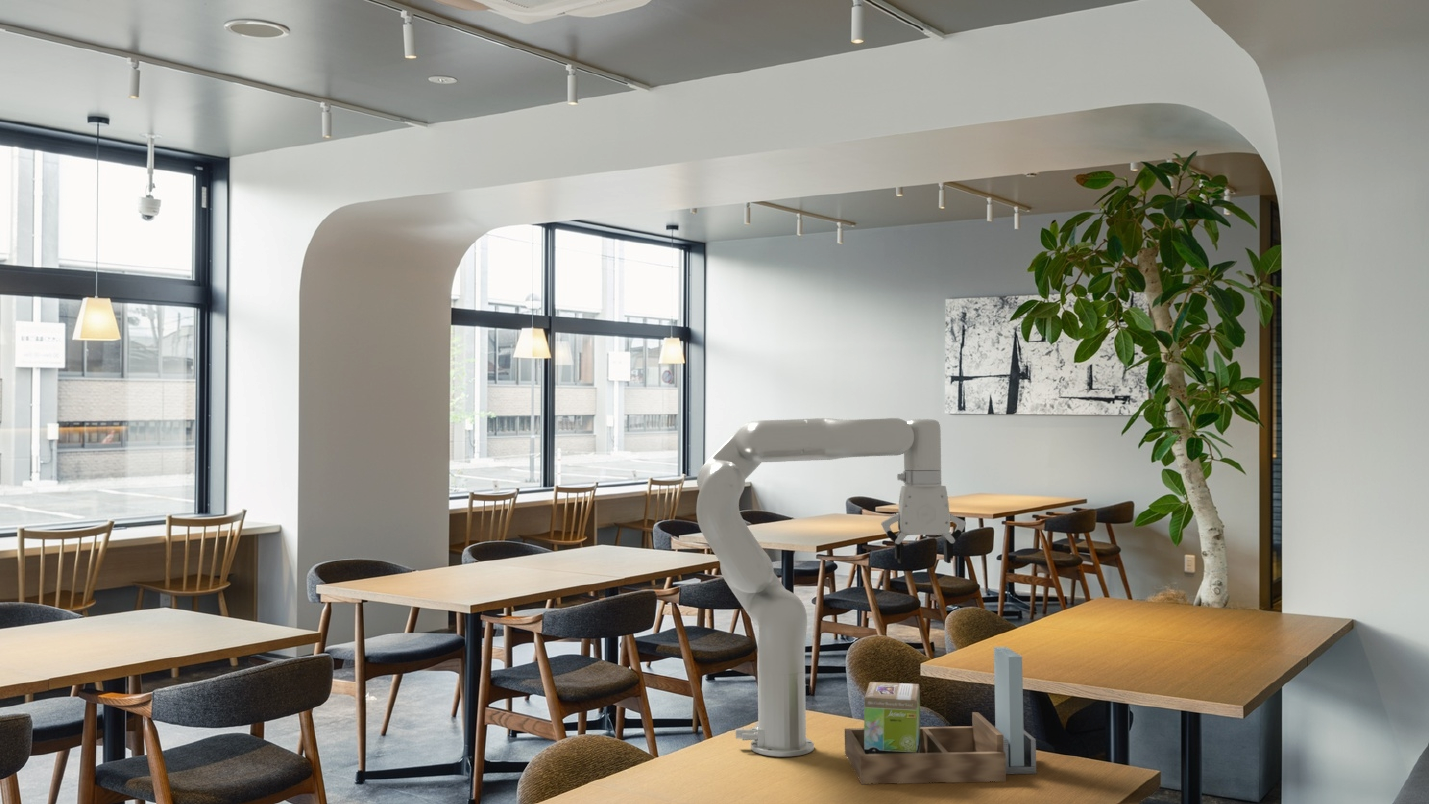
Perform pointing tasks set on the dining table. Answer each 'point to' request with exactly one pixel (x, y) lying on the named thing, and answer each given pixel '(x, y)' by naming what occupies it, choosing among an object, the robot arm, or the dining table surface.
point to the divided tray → (935, 756)
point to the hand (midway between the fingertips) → (924, 562)
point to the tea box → (892, 718)
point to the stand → (1028, 756)
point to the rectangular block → (1009, 701)
